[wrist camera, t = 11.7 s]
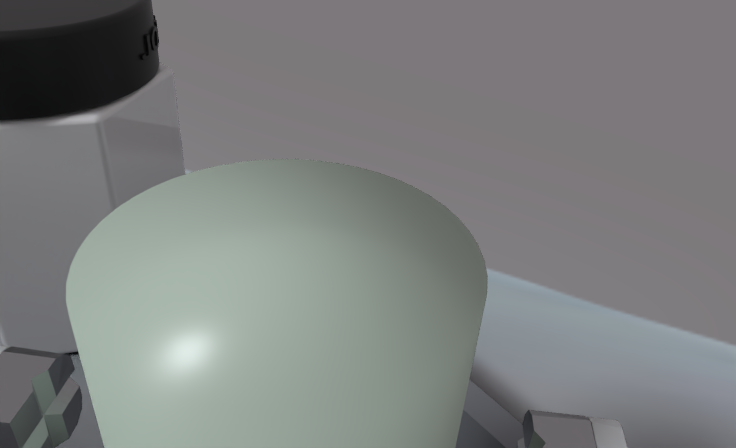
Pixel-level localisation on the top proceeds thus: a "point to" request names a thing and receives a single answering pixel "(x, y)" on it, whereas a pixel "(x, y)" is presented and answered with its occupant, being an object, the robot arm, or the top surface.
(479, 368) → the top surface
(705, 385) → the top surface
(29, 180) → the jar
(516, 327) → the top surface
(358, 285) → the pale green cylinder
